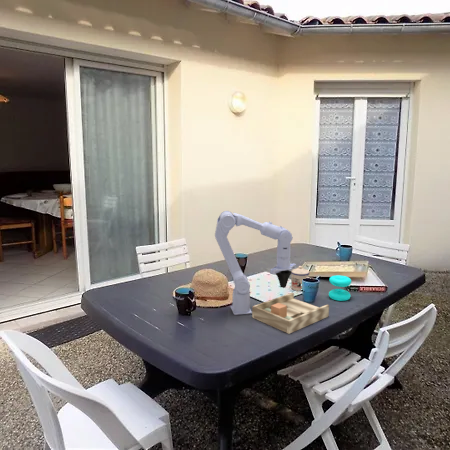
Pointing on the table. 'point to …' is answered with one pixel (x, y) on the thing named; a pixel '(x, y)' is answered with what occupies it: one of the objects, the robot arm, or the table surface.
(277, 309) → the block
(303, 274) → the teacup with lid
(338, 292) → the cyan spool
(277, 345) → the table surface
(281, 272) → the robot arm
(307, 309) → the trap box
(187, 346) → the table surface
